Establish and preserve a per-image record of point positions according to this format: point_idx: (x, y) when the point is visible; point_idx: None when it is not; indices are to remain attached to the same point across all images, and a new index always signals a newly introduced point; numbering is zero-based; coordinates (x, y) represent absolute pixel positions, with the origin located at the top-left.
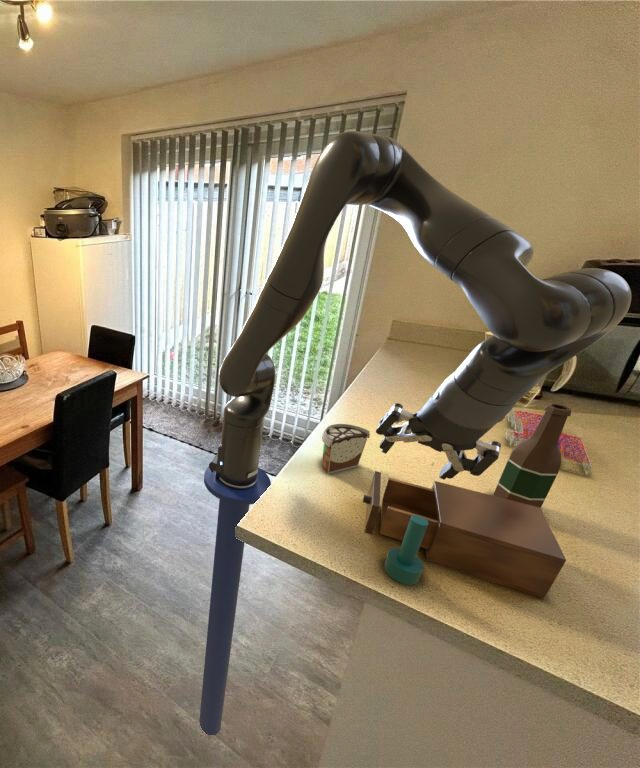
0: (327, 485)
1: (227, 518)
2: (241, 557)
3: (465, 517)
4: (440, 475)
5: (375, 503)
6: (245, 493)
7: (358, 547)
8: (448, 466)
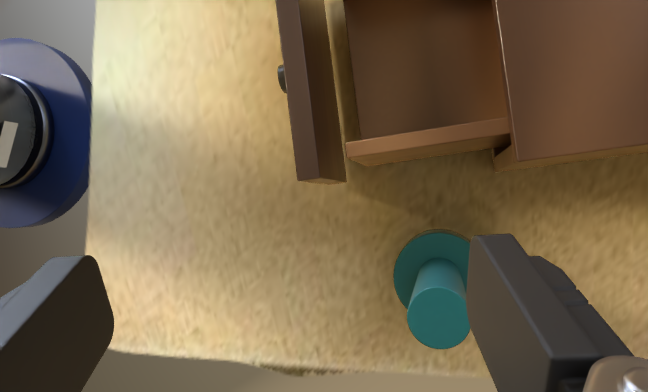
0: (199, 9)
1: None
2: None
3: (603, 57)
4: (473, 321)
5: (304, 165)
6: (48, 182)
7: (330, 239)
8: (515, 379)
